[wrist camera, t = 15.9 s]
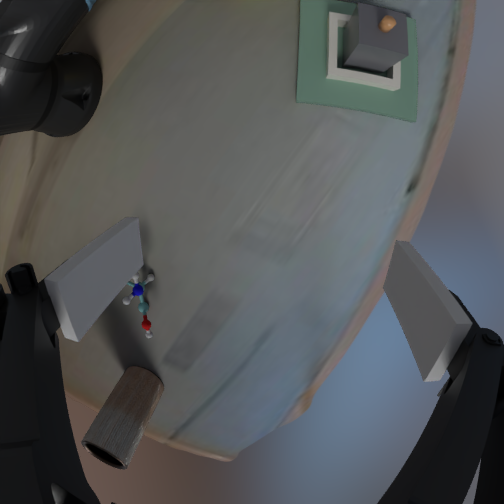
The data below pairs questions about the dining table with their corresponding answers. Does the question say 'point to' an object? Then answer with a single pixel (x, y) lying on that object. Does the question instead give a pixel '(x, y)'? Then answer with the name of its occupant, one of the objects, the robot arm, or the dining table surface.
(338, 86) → the board
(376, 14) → the plug
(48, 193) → the dining table surface
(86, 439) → the planter
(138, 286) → the molecular model
